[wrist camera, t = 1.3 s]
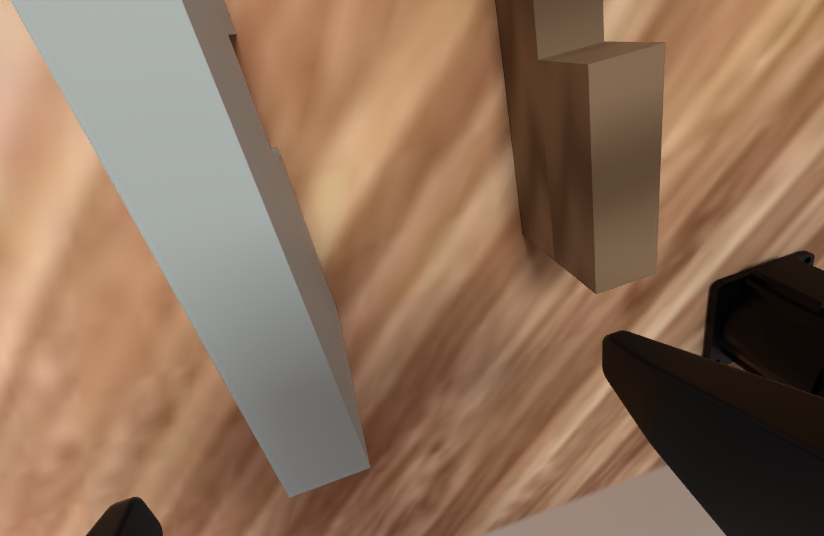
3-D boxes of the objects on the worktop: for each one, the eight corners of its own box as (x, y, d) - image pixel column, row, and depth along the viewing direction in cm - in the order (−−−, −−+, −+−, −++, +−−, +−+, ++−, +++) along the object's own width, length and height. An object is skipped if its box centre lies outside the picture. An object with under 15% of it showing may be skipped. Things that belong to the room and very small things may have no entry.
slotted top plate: (338, 313, 22) (370, 468, 14) (286, 330, 22) (289, 497, 14) (115, -299, 12) (-180, -895, 4) (15, -283, 12) (-487, -887, 4)
